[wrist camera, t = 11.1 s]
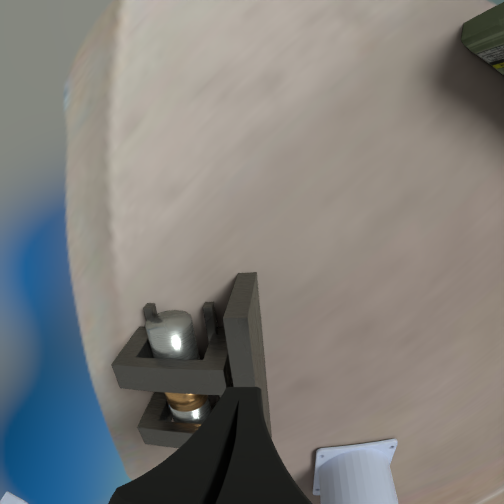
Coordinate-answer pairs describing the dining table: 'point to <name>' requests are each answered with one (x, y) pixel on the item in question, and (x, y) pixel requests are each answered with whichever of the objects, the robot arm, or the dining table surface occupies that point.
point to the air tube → (183, 348)
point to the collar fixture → (198, 364)
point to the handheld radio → (487, 36)
